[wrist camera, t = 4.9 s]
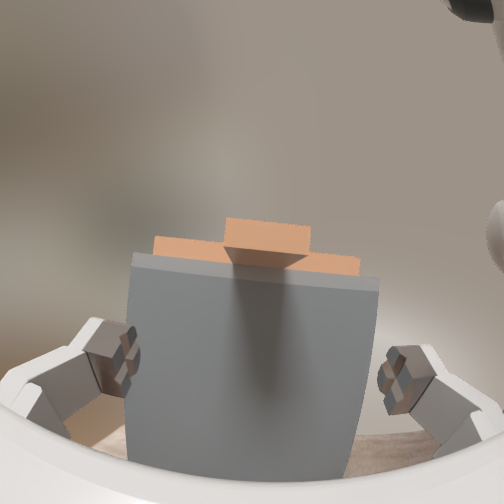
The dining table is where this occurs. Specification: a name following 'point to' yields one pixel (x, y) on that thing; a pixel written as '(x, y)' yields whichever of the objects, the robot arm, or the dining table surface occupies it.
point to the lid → (260, 248)
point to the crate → (247, 368)
